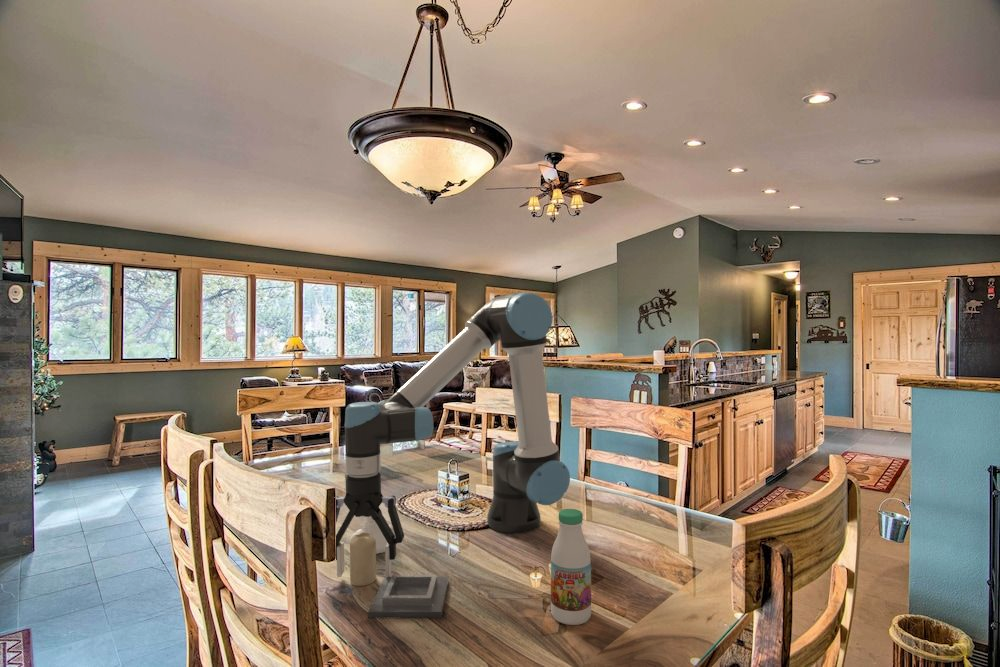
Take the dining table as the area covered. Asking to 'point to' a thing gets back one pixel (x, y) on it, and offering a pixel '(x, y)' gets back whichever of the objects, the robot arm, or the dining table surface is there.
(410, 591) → the plate
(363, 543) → the candle
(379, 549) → the white animal figurine
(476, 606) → the dining table surface
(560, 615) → the milk bottle
